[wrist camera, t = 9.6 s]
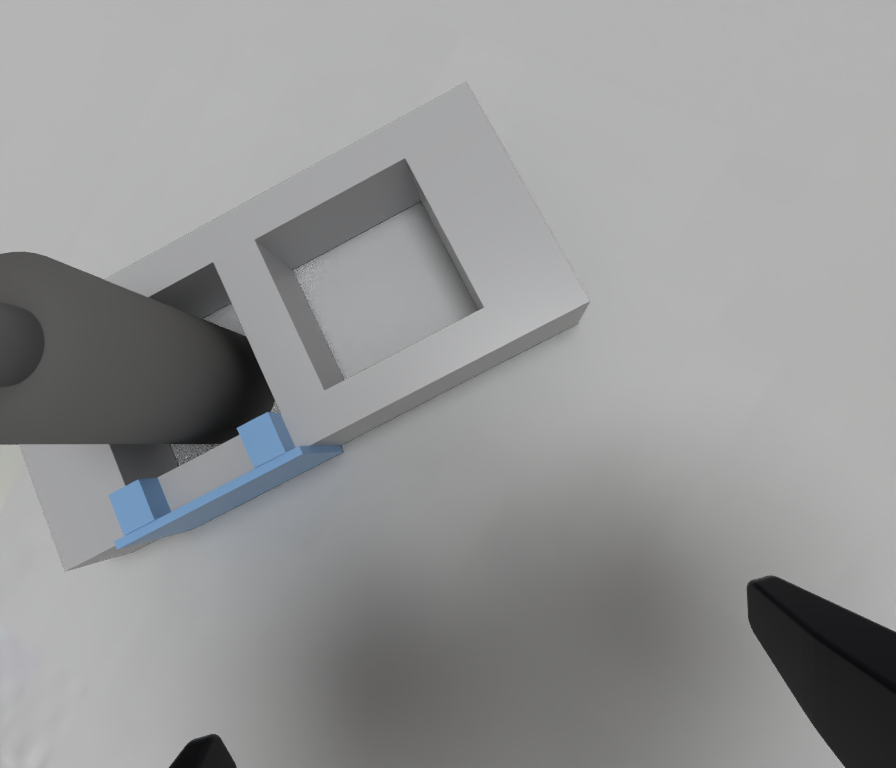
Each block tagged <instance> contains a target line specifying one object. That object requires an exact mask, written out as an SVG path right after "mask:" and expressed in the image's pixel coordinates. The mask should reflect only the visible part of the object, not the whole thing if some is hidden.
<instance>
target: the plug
mask: <svg viewBox="0 0 896 768" xmlns="http://www.w3.org/2000/svg"><path fill="white" fill-rule="evenodd" d="M274 400H275V399H274V397H273V395H272V392H271V390H270V388H269V386H268V383H267V381H266V379H265V377H264V375H263V372H262V370H261V368H260V366H259V363H258V361H257V359H256V357H255V354H254V352H253V350H252V348H251V345H250V343H249V341H248V339H247V337H245V336H243V335H241V334H238V333H236V332H233V331H231V330H228V329H226V328H223V327H221V326H218V325H216V324H213V323H211V322H208V321H206V320H203V319H201V318H198V317H196V316H193V315H191V314H188V313H186V312H183V311H181V310H178V309H176V308H173V307H171V306H168V305H166V304H163V303H161V302H158V301H156V300H153V299H151V298H148V297H146V296H144V295H141V294H139V293H136V292H134V291H131V290H129V289H126V288H124V287H121V286H119V285H116V284H114V283H111V282H109V281H106V280H104V279H101V278H99V277H96V276H94V275H91V274H89V273H86V272H84V271H81V270H79V269H76V268H74V267H71V266H69V265H66V264H64V263H61V262H59V261H56V260H54V259H51V258H49V257H46V256H43V255H40V254H36V253H29V252H10V253H4V254H0V444H223V443H225V442H227V441H229V440H230V439H232V438H234V437H236V436H238V435H239V432H238V430H237V428H238V427H240V426H242V425H243V424H245V423H247V422H249V421H251V420H253V419H255V418H257V417H259V416H261V415H263V414H265V413H266V412H270V411H271V409H272V407H273V403H274Z"/></svg>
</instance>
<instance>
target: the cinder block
mask: <svg viewBox="0 0 896 768" xmlns="http://www.w3.org/2000/svg"><path fill="white" fill-rule="evenodd" d="M420 201H421V202H422V204H423V206H424V208H425V210H426V211H427V213H428V215H429V217H430V219H431V221H432V223H433V225H434V227H435V229H436V230H437V232H438V234H439V236H440V238H441V240H442V242H443V244H444V246H445V248H446V250H447V251H448V253H449V255H450V257H451V259H452V261H453V263H454V265H455V267H456V269H457V270H458V272H459V274H460V276H461V278H462V280H463V282H464V284H465V286H466V288H467V289H468V291H469V293H470V295H471V297H472V299H473V301H474V303H475V305H476V307H477V308H478V311H476V312H474V313H472V314H471V315H469V316H467V317H465V318H463V319H461V320H459V321H457V322H455V323H453V324H451V325H449V326H447V327H446V328H444V329H442V330H440V331H438V332H436V333H434V334H432V335H430V336H428V337H426V338H424V339H423V340H421V341H419V342H417V343H415V344H413V345H411V346H409V347H407V348H405V349H403V350H401V351H399V352H398V353H396V354H394V355H392V356H390V357H388V358H386V359H384V360H382V361H380V362H378V363H376V364H374V365H373V366H371V367H369V368H367V369H365V370H363V371H361V372H359V373H357V374H355V375H353V376H351V377H350V378H348V379H346V380H344V378H343V376H342V374H341V372H340V370H339V368H338V365H337V363H336V361H335V359H334V357H333V355H332V353H331V351H330V349H329V346H328V344H327V342H326V340H325V338H324V336H323V334H322V332H321V329H320V327H319V325H318V323H317V321H316V319H315V317H314V315H313V313H312V310H311V308H310V306H309V304H308V302H307V300H306V298H305V296H304V293H303V291H302V289H301V287H300V285H299V283H298V281H297V279H296V276H295V274H294V272H293V269H295V268H297V267H299V266H301V265H303V264H305V263H306V262H308V261H310V260H312V259H314V258H316V257H318V256H319V255H321V254H323V253H325V252H327V251H329V250H331V249H333V248H334V247H336V246H338V245H340V244H342V243H344V242H346V241H347V240H349V239H351V238H353V237H355V236H357V235H359V234H361V233H362V232H364V231H366V230H368V229H370V228H372V227H374V226H375V225H377V224H379V223H381V222H383V221H385V220H387V219H389V218H390V217H392V216H394V215H396V214H398V213H400V212H402V211H403V210H405V209H407V208H409V207H411V206H413V205H415V204H416V203H418V202H420ZM104 280H106V281H109V282H111V283H114V284H116V285H119V286H121V287H124V288H126V289H129V290H131V291H134V292H136V293H139V294H141V295H144V296H146V297H148V298H151V299H153V300H156V301H158V302H161V303H163V304H166V305H168V306H171V307H173V308H176V309H178V310H181V311H183V312H186V313H188V314H191V315H193V316H196V317H198V318H201V319H202V318H204V317H206V316H208V315H209V314H211V313H213V312H215V311H217V310H219V309H221V308H222V307H224V306H226V305H228V304H230V303H232V305H233V307H234V310H235V312H236V314H237V316H238V319H239V321H240V323H241V325H242V328H243V330H244V332H245V334H246V336H247V339H248V341H249V343H250V345H251V348H252V350H253V352H254V354H255V357H256V359H257V361H258V363H259V366H260V368H261V370H262V372H263V375H264V377H265V379H266V381H267V383H268V386H269V388H270V390H271V392H272V395H273V397H274V399H275V401H276V404H277V406H278V408H279V410H280V413H273V412H266V413H265V414H263V415H261V416H259V417H257V418H255V419H253V420H251V421H249V422H247V423H245V424H243V425H242V426H240V427H238V428H237V430H238V432H239V435H238V436H236V437H234V438H232V439H230V440H229V441H227V442H225V443H223V444H221V445H219V446H217V447H215V448H213V449H211V450H209V451H207V452H205V453H204V454H202V455H200V456H198V457H196V458H194V459H192V460H190V461H188V462H186V463H184V464H182V465H180V466H178V464H177V462H176V459H175V457H174V454H173V452H172V449H171V447H170V444H19V446H20V449H21V452H22V454H23V457H24V460H25V463H26V466H27V468H28V471H29V474H30V477H31V479H32V482H33V485H34V488H35V490H36V493H37V496H38V499H39V501H40V504H41V507H42V510H43V513H44V515H45V518H46V521H47V524H48V526H49V529H50V532H51V535H52V537H53V540H54V543H55V546H56V549H57V551H58V554H59V557H60V560H61V562H62V565H63V568H64V571H69V570H72V569H76V568H79V567H83V566H86V565H90V564H93V563H97V562H100V561H104V560H107V559H111V558H114V557H118V556H121V555H125V554H128V553H132V552H134V551H136V550H138V549H140V548H142V547H144V546H146V545H148V544H150V543H152V542H153V541H155V540H157V539H159V538H162V537H166V536H170V535H173V534H177V533H181V532H184V531H188V530H192V529H194V528H196V527H198V526H200V525H202V524H204V523H206V522H208V521H210V520H212V519H214V518H216V517H218V516H220V515H222V514H224V513H225V512H227V511H229V510H231V509H233V508H235V507H237V506H239V505H241V504H243V503H245V502H247V501H249V500H251V499H253V498H255V497H257V496H259V495H261V494H263V493H264V492H266V491H268V490H270V489H272V488H274V487H276V486H278V485H280V484H282V483H284V482H286V481H288V480H290V479H292V478H294V477H296V476H298V475H300V474H302V473H304V472H305V471H307V470H309V469H311V468H313V467H315V466H317V465H319V464H321V463H323V462H325V461H327V460H329V459H331V458H333V457H335V456H337V455H339V454H341V453H343V450H342V447H341V445H342V444H344V443H346V442H348V441H350V440H352V439H354V438H356V437H358V436H360V435H362V434H364V433H366V432H368V431H370V430H372V429H373V428H375V427H377V426H379V425H381V424H383V423H385V422H387V421H389V420H391V419H393V418H395V417H397V416H399V415H401V414H403V413H405V412H407V411H409V410H410V409H412V408H414V407H416V406H418V405H420V404H422V403H424V402H426V401H428V400H430V399H432V398H434V397H436V396H438V395H440V394H442V393H444V392H446V391H447V390H449V389H451V388H453V387H455V386H457V385H459V384H461V383H463V382H465V381H467V380H469V379H471V378H473V377H475V376H477V375H479V374H481V373H483V372H484V371H486V370H488V369H490V368H492V367H494V366H496V365H498V364H500V363H502V362H504V361H506V360H508V359H510V358H512V357H514V356H516V355H518V354H520V353H521V352H523V351H525V350H527V349H529V348H531V347H533V346H535V345H537V344H539V343H541V342H543V341H545V340H547V339H549V338H551V337H553V336H555V335H557V334H558V333H560V332H562V331H564V330H566V329H568V328H570V327H572V326H574V325H576V324H578V322H579V320H580V319H581V317H582V315H583V313H584V311H585V310H586V308H587V306H588V304H589V303H590V299H589V297H588V295H587V294H586V292H585V290H584V288H583V287H582V285H581V283H580V281H579V279H578V278H577V276H576V274H575V272H574V271H573V269H572V267H571V265H570V263H569V262H568V260H567V258H566V256H565V255H564V253H563V251H562V249H561V248H560V246H559V244H558V242H557V240H556V239H555V237H554V235H553V233H552V232H551V230H550V228H549V226H548V224H547V223H546V221H545V219H544V217H543V216H542V214H541V212H540V210H539V209H538V207H537V205H536V203H535V201H534V200H533V198H532V196H531V194H530V193H529V191H528V189H527V187H526V185H525V184H524V182H523V180H522V178H521V177H520V175H519V173H518V171H517V170H516V168H515V166H514V164H513V162H512V161H511V159H510V157H509V155H508V154H507V152H506V150H505V148H504V147H503V145H502V143H501V141H500V139H499V138H498V136H497V134H496V132H495V131H494V129H493V127H492V125H491V123H490V122H489V120H488V118H487V116H486V115H485V113H484V111H483V109H482V108H481V106H480V104H479V102H478V100H477V99H476V97H475V95H474V93H473V92H472V90H471V88H470V86H469V84H468V83H467V81H466V82H464V83H463V84H461V85H459V86H457V87H455V88H453V89H452V90H450V91H448V92H446V93H444V94H442V95H441V96H439V97H437V98H435V99H433V100H432V101H430V102H428V103H426V104H424V105H422V106H421V107H419V108H417V109H415V110H413V111H411V112H410V113H408V114H406V115H404V116H402V117H400V118H399V119H397V120H395V121H393V122H391V123H389V124H388V125H386V126H384V127H382V128H380V129H378V130H377V131H375V132H373V133H371V134H369V135H367V136H366V137H364V138H362V139H360V140H358V141H356V142H355V143H353V144H351V145H349V146H347V147H346V148H344V149H342V150H340V151H338V152H336V153H335V154H333V155H331V156H329V157H327V158H325V159H324V160H322V161H320V162H318V163H316V164H314V165H313V166H311V167H309V168H307V169H305V170H303V171H302V172H300V173H298V174H296V175H294V176H292V177H291V178H289V179H287V180H285V181H283V182H281V183H280V184H278V185H276V186H274V187H272V188H270V189H269V190H267V191H265V192H263V193H261V194H259V195H258V196H256V197H254V198H252V199H250V200H249V201H247V202H245V203H243V204H241V205H239V206H238V207H236V208H234V209H232V210H230V211H228V212H227V213H225V214H223V215H221V216H219V217H217V218H216V219H214V220H212V221H210V222H208V223H206V224H205V225H203V226H201V227H199V228H197V229H195V230H194V231H192V232H190V233H188V234H186V235H184V236H183V237H181V238H179V239H177V240H175V241H173V242H172V243H170V244H168V245H166V246H164V247H162V248H161V249H159V250H157V251H155V252H153V253H152V254H150V255H148V256H146V257H144V258H142V259H141V260H139V261H137V262H135V263H133V264H131V265H130V266H128V267H126V268H124V269H122V270H120V271H119V272H117V273H115V274H113V275H111V276H109V277H108V278H106V279H104Z"/></svg>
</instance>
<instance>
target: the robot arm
mask: <svg viewBox="0 0 896 768" xmlns="http://www.w3.org/2000/svg"><path fill="white" fill-rule="evenodd" d="M747 602H748V619H749V623H750V626H751V628H752V630H753V632H754V634H755V635H756V637H757V639H758V640H759V642H760V643H761V645H762V646H763V648H764V650H765V651H766V653H767V654H768V656H769V657H770V659H771V661H772V662H773V664H774V665H775V667H776V668H777V670H778V672H779V673H780V675H781V676H782V678H783V679H784V681H785V683H786V684H787V686H788V687H789V689H790V690H791V692H792V694H793V695H794V697H795V698H796V700H797V701H798V703H799V705H800V706H801V708H802V709H803V711H804V712H805V714H806V715H807V717H808V718H809V720H810V721H811V723H812V724H813V726H814V727H815V728H816V730H817V731H818V732H819V734H820V735H821V737H822V738H823V739H824V741H825V742H826V743H827V745H828V746H829V747H830V748H831V750H832V751H833V752H834V754H835V755H836V756H837V757H838V759H839V760H840V761H841V763H842V764H843V765H844V767H845V768H896V632H895V631H893V630H890V629H888V628H886V627H884V626H882V625H880V624H878V623H875V622H873V621H871V620H869V619H867V618H865V617H862V616H860V615H858V614H856V613H854V612H852V611H850V610H847V609H845V608H843V607H841V606H839V605H837V604H834V603H832V602H830V601H828V600H826V599H824V598H822V597H819V596H817V595H815V594H813V593H811V592H809V591H806V590H804V589H802V588H800V587H798V586H796V585H794V584H791V583H789V582H787V581H785V580H783V579H781V578H778V577H776V576H765V577H762V578H758V579H755V580H751V581H750V582H749V583H748V585H747ZM169 768H237V767H236V764H235V762H234V761H233V759H232V757H231V755H230V754H229V752H228V750H227V748H226V747H225V745H224V743H223V741H222V740H221V738H220V737H219V736H218V735H216V734H210V735H207V736H203V737H200V738H196V739H194V740H192V741H190V742H189V743H188V744H187V745H186V746H185V747H184V749H183V750H182V751H181V752H180V754H179V755H178V756H177V758H176V759H175V760H174V762H173V763H172V764H171V766H170V767H169Z"/></svg>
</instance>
